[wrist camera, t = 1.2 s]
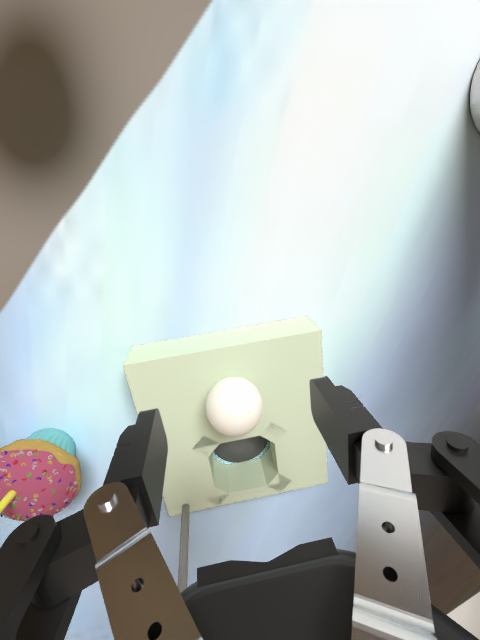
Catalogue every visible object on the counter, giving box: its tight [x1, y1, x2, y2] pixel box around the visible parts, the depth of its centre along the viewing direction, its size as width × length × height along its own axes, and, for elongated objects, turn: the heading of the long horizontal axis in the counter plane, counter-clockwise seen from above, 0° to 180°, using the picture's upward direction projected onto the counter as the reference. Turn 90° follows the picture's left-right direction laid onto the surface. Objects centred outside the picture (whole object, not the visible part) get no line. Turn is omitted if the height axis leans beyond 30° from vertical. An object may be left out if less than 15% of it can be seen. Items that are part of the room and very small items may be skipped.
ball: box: [206, 377, 263, 436], centre depth 27 cm, size 5×5×5 cm
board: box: [123, 316, 328, 593], centre depth 27 cm, size 20×19×16 cm
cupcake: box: [0, 429, 81, 521], centre depth 28 cm, size 9×8×12 cm
